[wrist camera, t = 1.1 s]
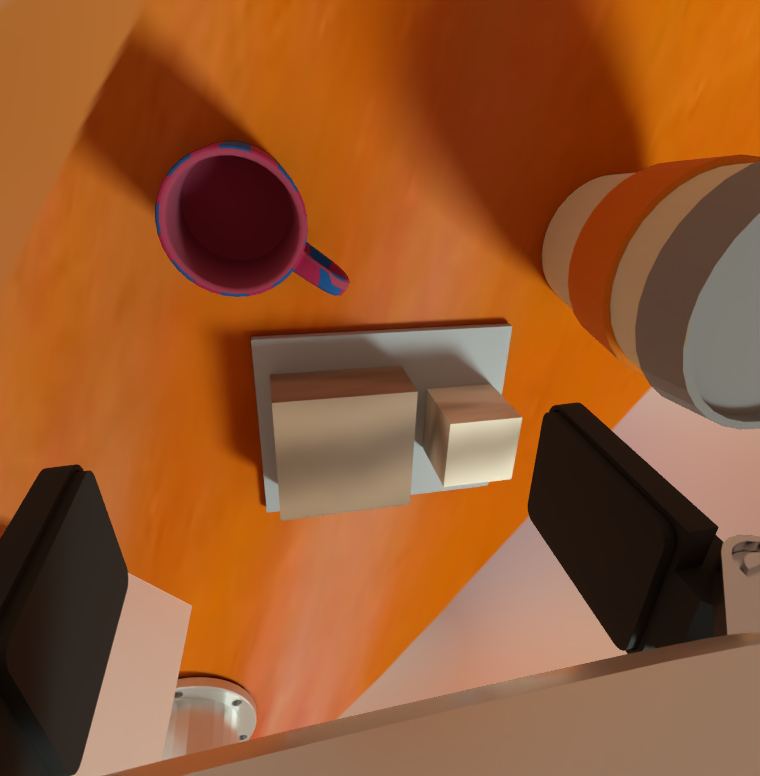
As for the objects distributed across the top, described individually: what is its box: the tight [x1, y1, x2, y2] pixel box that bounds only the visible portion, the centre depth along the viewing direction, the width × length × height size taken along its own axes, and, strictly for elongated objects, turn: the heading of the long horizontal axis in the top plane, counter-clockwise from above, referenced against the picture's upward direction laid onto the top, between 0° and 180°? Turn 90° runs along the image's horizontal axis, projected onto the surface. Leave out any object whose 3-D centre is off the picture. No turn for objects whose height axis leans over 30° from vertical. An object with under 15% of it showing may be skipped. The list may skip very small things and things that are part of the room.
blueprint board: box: [251, 323, 512, 512], centre depth 37 cm, size 14×18×1 cm
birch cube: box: [422, 384, 522, 487], centre depth 36 cm, size 5×5×5 cm
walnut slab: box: [270, 366, 418, 521], centre depth 35 cm, size 9×9×4 cm
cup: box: [155, 141, 350, 297], centre depth 27 cm, size 7×10×7 cm
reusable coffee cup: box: [542, 155, 760, 429], centre depth 29 cm, size 13×12×15 cm
